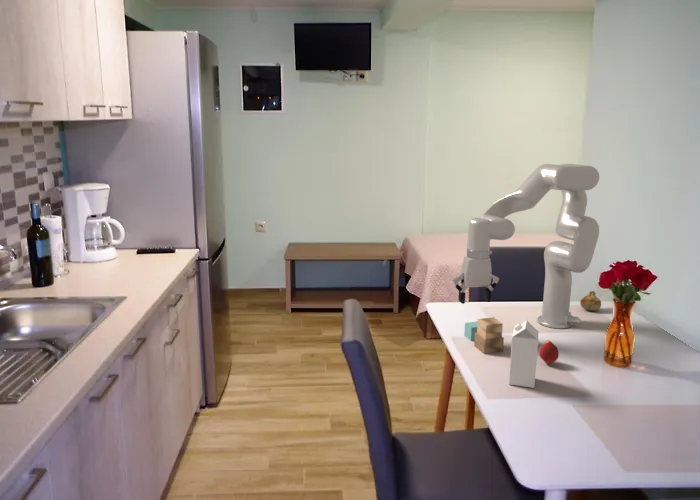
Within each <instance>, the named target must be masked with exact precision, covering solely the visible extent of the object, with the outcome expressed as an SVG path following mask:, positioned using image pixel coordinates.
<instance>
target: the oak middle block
mask: <svg viewBox="0 0 700 500" xmlns="http://www.w3.org/2000/svg"><path fill="white" fill-rule="evenodd" d="M476 322H477V333H478V334H479V335H480V336H482V337H483V338H484V339H493V338H502V337H503V325H504V324H503V322H501V321H500V320H498V319H497V318H495V317H483V318H477V321H476Z"/></svg>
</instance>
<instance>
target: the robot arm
mask: <svg viewBox="0 0 700 500" xmlns="http://www.w3.org/2000/svg"><path fill="white" fill-rule="evenodd" d="M599 181H600V172H599V171H598V168H596V167H594V166H592V165H584V164H575V163H561V164H549V163H545V164H544V163H543V164H541V165H539V166H537V168H535V170H534V171H533V172H532V173H531V174H530V175H528V177H527V178H526V179H525V180H524V181H523V183H521V185H520V186H519V187H518V188H516V190H514V191H512V192H510V193H508V194H507V195H506V196H503V197H501V198H499V199H498V200H496V201H495V202H493V203H492V204H491V205H489V206H488V208H486V209H485V211H484V212H483V213H482V214H481V215H480V217H473V218H471V219H469V221H468V227H467V228H468V230H467V231H468V232H467V245H466V247H467V248H466V256H465V257H464V258H463V260H462V262H461V269H460V274H459V275H458V276H456V277H455V278H453V279H452V280H451V281H452V284H453V286H454V288H456V290H457V291H458V301H459V303H461V304H462V305H464V304H466V292H465V291H466V290H467V289H468V288H479V287H480V288H481V287H482V288H483V287H485V289H484V291H483V292H484V295H483V300H484V301H486V302H488V303H491V299H492V292H493V291H494V289H495V288H496V286H497V284H498V283H499V281H500V278H499V277H498V276H496V275H494V274H492V262H491V258H490V255H493V250H491V249H490V248H491V247H490V246H491V240H497V241H506V240H508V239H510V238H512V237H513V236H514V234H515V231H516V226H515V224H514V223H513V222H512V221H511V220H510V219H508V218H507V217H508V216H510V215H512V214H515V213H519V212H525V211H528V210H531V209H533V208H534V207H536V206H537V204H538V203H540V201H541V200H542V199H543V198H544V197H545V196H546V195H547V194H548V193H549V192H550V191H552V190H555V191H561V195H562V201H561V205H560V209H559V213H558V216H557V220H556V223H555V233H556V234H557V236H559V237H560V238H563V239H567V240H570V241H572V242H573V243H569V242H565V241H561V240H555V241H551V242H549V243H548V244H547V245H546V247H545V249H544V251H543V260H544V268H545V269H544V270H545V271H544V272H545V273H544V274H545V275H544V287H543V299H542V300H543V301H542V311H541V315H539V316H538V317H537V318H536V320H537V322H538V324H540V325H542V326H545V327H548V328H552V329H568V328H570V327H572V326H573V324H578V325H580V324H581V322H582V321H581V318H579V316H574V315H572V312H571V311H570V304H571V294H572V286H573V285H572V284H573V283H572V282H573V276H572V275H573V274H572V273H577V274H578V273H579V274H581V273H584V272H585V271H586V270H588V268H589V267H590V264H591V263H592V260H593V257H594V253H595V250H596V246H597V243H598V239H599V235H600V226H599V223H598V221H597V220H596V219H595V218H593V217H591V216H588V215H585V213H586V210H587V206H588V196H587V192H586V191H590V190H593V189H594V188H595V187H596V186H597V185H598V183H599ZM459 283H460V285H459Z"/></svg>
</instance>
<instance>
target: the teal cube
mask: <svg viewBox="0 0 700 500" xmlns="http://www.w3.org/2000/svg"><path fill="white" fill-rule="evenodd" d="M477 322H478V321H469V322H465V323H464V334H463V336H464V337H465V338H466V339H468V340H469V341H470V342H473V341H474V340H475V333H476V332H477Z"/></svg>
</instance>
